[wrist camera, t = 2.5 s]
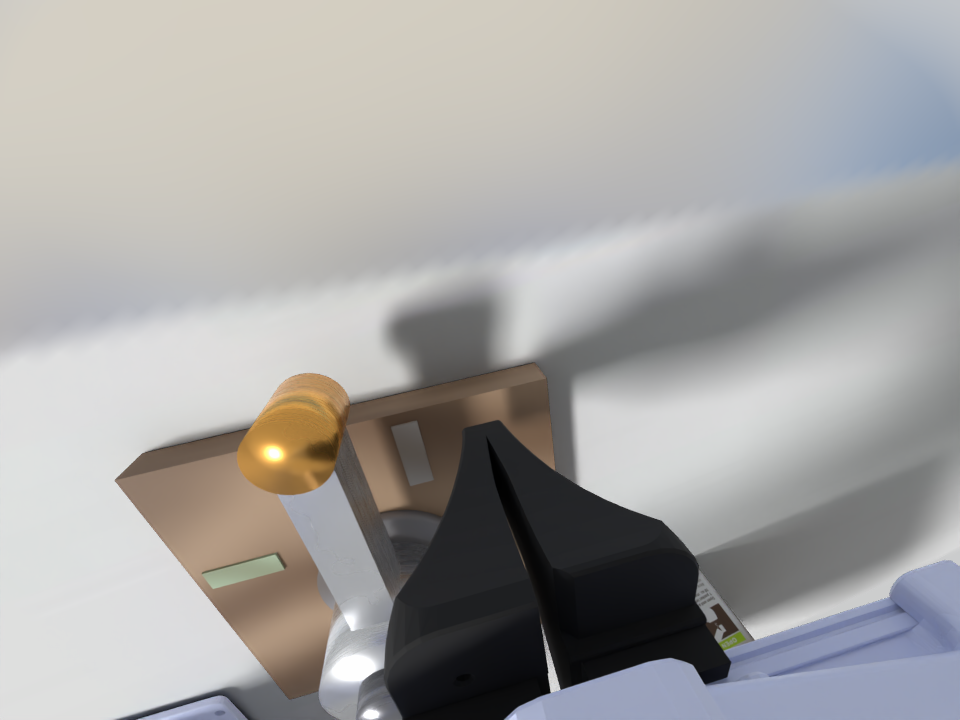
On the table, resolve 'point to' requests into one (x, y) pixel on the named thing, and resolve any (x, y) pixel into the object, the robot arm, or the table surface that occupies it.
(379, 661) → the gold-capped lever
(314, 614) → the coupling base
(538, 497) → the robot arm
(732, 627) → the coffee box
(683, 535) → the table surface
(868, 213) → the table surface
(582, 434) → the table surface
